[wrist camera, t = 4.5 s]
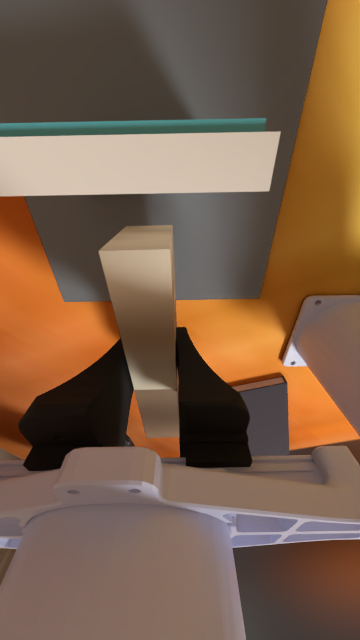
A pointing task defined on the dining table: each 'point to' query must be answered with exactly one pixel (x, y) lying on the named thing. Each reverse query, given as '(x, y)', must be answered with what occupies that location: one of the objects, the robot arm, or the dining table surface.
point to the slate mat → (160, 104)
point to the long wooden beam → (147, 319)
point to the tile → (136, 157)
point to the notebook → (267, 416)
